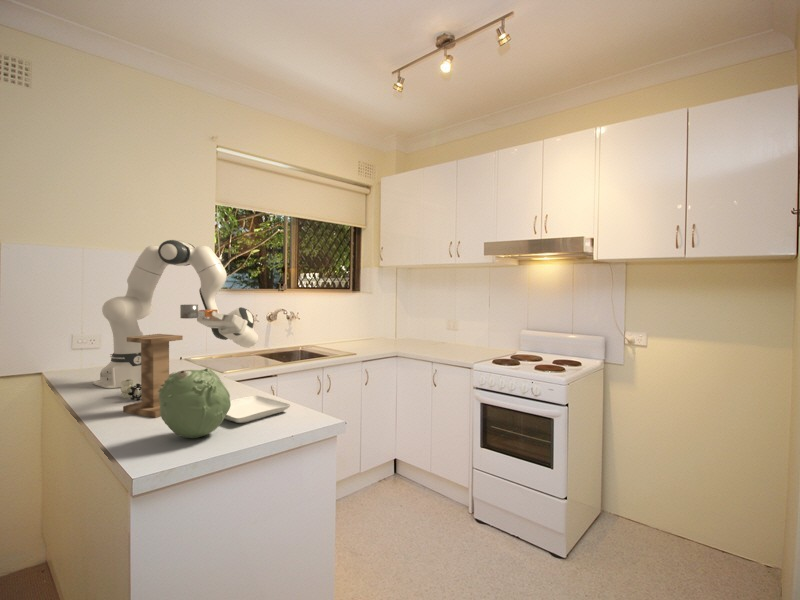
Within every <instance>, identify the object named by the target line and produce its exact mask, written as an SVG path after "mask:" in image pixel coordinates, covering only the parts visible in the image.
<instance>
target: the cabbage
mask: <svg viewBox="0 0 800 600" xmlns="http://www.w3.org/2000/svg"><path fill="white" fill-rule="evenodd" d="M161 386H163V388H160V389H159V390H158V392H160V393H159V396H158V397H159V403H160V415H161V416H160V417H161V420H162V421H163V423H164V424H165V425H166V426H167V427H168V428H169V430H171V432H173V433H174V434H175V435H177V436H179V437H182V438H186V439H187V438H188V439H198V438H201V437H205V436H206V435H209V434H211V433H212V432H215V430H217V429H218V427H220V425H221V424H222V423H223V422H224V420H225V419H224V418H225V416H226V414H227V413H228V411H229V409H230V406H231V402H230V400H231V399H230V398H231V396H230V393H229V392H230V391H228V389H227V388H226V386H225V385H224V383H223V382H222V380H221V378H220V377H219V375H218V374H217V373H215V372H214V371H213V370H212V369H209V368H208V367H207V368H203V369H184V370H180V371H177V372H174V371H172V372H171V373H169V376H168V379H167V380H165V384H162V385H161Z"/></svg>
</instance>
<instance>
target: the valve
mask: <svg viewBox="0 0 800 600" xmlns="http://www.w3.org/2000/svg"><path fill="white" fill-rule="evenodd" d="M132 384H133V380H132V379H127V380H122V381H121V385H122V387H120V392H121V398H122V399H127V398H128V399H129V398H130V400H131V401H135V400H136V402H141V385H140V384H136V386H133V385H132ZM138 395H139V396H138Z"/></svg>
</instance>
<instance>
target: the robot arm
mask: <svg viewBox="0 0 800 600" xmlns="http://www.w3.org/2000/svg"><path fill="white" fill-rule="evenodd" d="M169 265H172V266H177V267H178V266H180V267H182V266H184V267H185V266H192V267H193V269H194V270H195V272H196V274H197V275H198V277H199V282H200V288H199V296H200V298H201V299H200V300H201V302H202V305H203V307H204V310H209V309H215V310H218V313H217V312H215V311H211V312H210V315H211V316H214V317H200V318H196V321H197V322H198V323H199V324H201V325H203V326H205V327H207V328H211V332H212V334H213V336H214V337H215V338H216V339H219V340H223V341H224V340H225V341H226V340H230V341H231V340H232V342H233V343H235V344H236V345H238V346H240V347H242V348H247V349H249V348H251V347H253V346H255V345H256V344H257V343H258V341H259V335H258V333H257V332H256V331H255V328H254V323H255V318H254V315H253V314H252V312H251V311H250V310H249V309H247V308H245V307H242V306H241V307H240V306H239V307H238V308H236V309H234V310H232V311H230V312H229V313H226V314H223V313H220V311H219V308H218V305H217V303H216V297H217V294H218V293H219V291H220V290H221V289H222V287H223V286H224V285H225V283H226V281H227V275H228V274H227V270H226V269H225V267H224V265H223V263H222V261H221V260H220V258H219V257H218V256H217V254H216V253H215V252H214V251H213V250H212V248H211V247H209V246H208V245H199V246H196V247H195V246H194V245H193V244H191V243H189V242H186V241H183V240H176V239H169V240H165V241H163V242H162V243H160V245H159V246H158V245H148V246H147V247H145V248H144V249H143V250H142V252H141V253H140V255H139V256H138V258H137V259H136V261H135V264H134V265H133V267H132V268H131V271H130V273H129V275H128V277H127V279H126V282H127V291H126V294H125V295H123V296H116V297H113V298H110V299H108V300H106V301H105V302H104V304H103V305H102V308H101V309H102V311H101V312H102V315H103V316H104V319H106V320H107V321H108V322H109V325H110V328H111V333H112V337H113V338H112V341H113V353H112V354H109V355H110V356H109V358H110V362H109V363H108V364H107V365H105V366H104V367H103V368H102V369H101V370H100V375H99V376H100V377H99V379H98V380H95V381H93V385H94V386H95V385H96V386H98V387H101V388H103V389H104V388H105V389H116V388H117V389H118V388H121V387H122V385H121V381H122V380H127V379H132V380H133V384H132V385H133V386H134V387H137V386H136V384H140V386H141V343H136V342H127V337H134V336H144V334H143V332H142V331H141V328H140V326H139V322H138V321H139V320H142V319H144V318H146V317H147V316H149V315H150V314H151V312H152V310H153V306H152V301H153V296H154V292H155V290H156V287H157V285H158V283H159V282H160V279H161V277H162V275H163V273H164V272H165V271H164V270H165V269H166V267H167V266H169Z"/></svg>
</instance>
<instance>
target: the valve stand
mask: <svg viewBox="0 0 800 600" xmlns="http://www.w3.org/2000/svg"><path fill="white" fill-rule="evenodd" d="M183 337H184V336H183V335H182V334H181V335H180V334H167V333H165V334H164V333H155V334H154V333H153V334H145V335H144V334H143V336H134V337H127V342H136V343H141V385H140V387H141V390H140V391H141V393H140V395H141V398H140V401H136V402H133V403H130V404H127V405H123V406H122V412H123V413H127V414H131V415H132V414H133V415H138V416H144V417H150V418H155V419H158V418H160V417H161V415H160V403H159V397H158V396H159V393H160V392H158V390H159V389H160V388H163V386H161V385H162V384H165V380H167V379H168V376H169V375H170V342H175V341H183Z"/></svg>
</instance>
